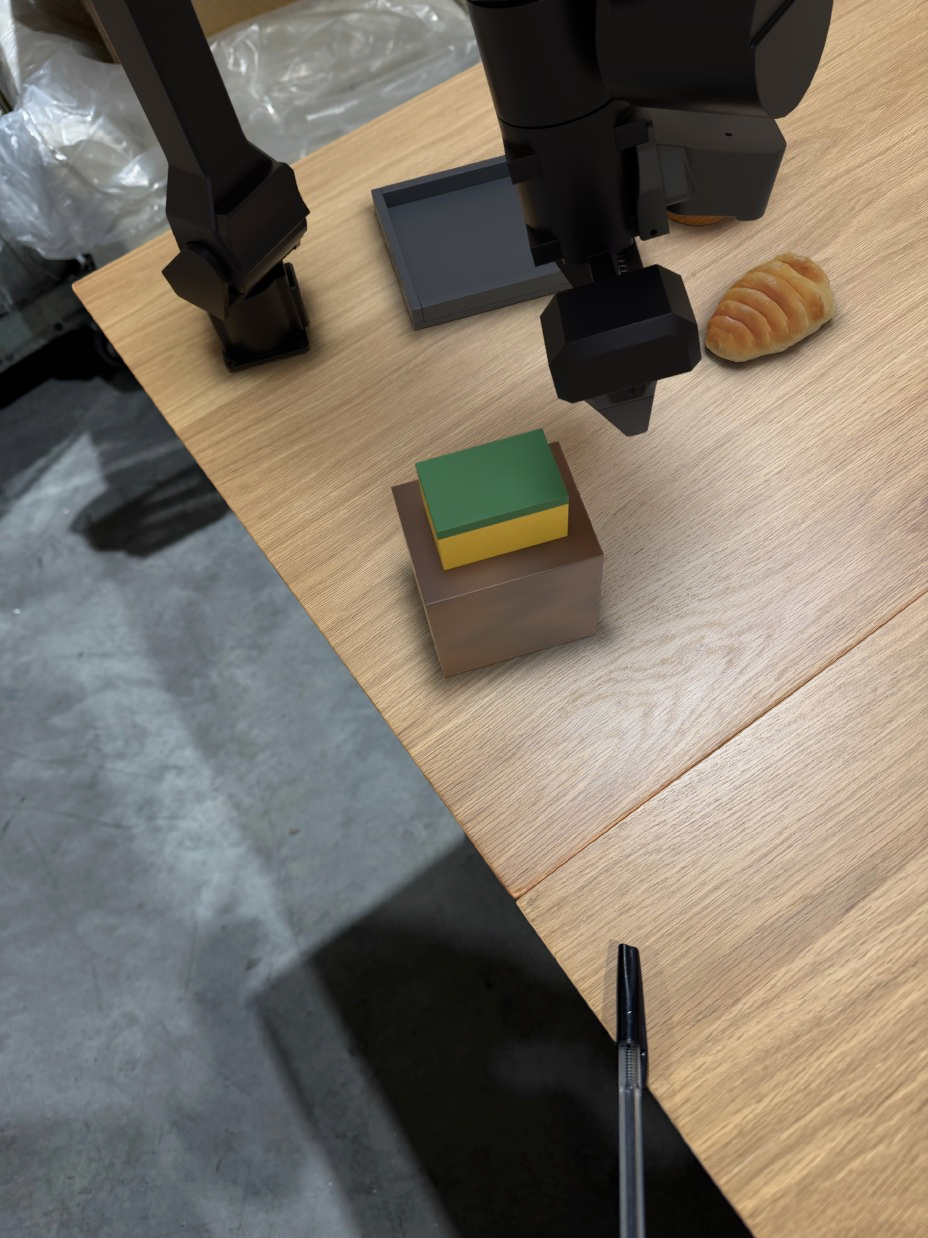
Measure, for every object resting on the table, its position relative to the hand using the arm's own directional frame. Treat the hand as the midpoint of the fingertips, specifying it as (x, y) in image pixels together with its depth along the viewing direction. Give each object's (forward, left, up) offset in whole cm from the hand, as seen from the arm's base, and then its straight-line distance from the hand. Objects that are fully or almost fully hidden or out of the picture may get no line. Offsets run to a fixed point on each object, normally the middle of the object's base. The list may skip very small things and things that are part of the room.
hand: (622, 373), depth 52 cm
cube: (-9, -4, -14) cm, 17 cm away
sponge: (-9, -4, -4) cm, 10 cm away
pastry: (+16, +12, -14) cm, 25 cm away
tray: (0, +27, -14) cm, 30 cm away
